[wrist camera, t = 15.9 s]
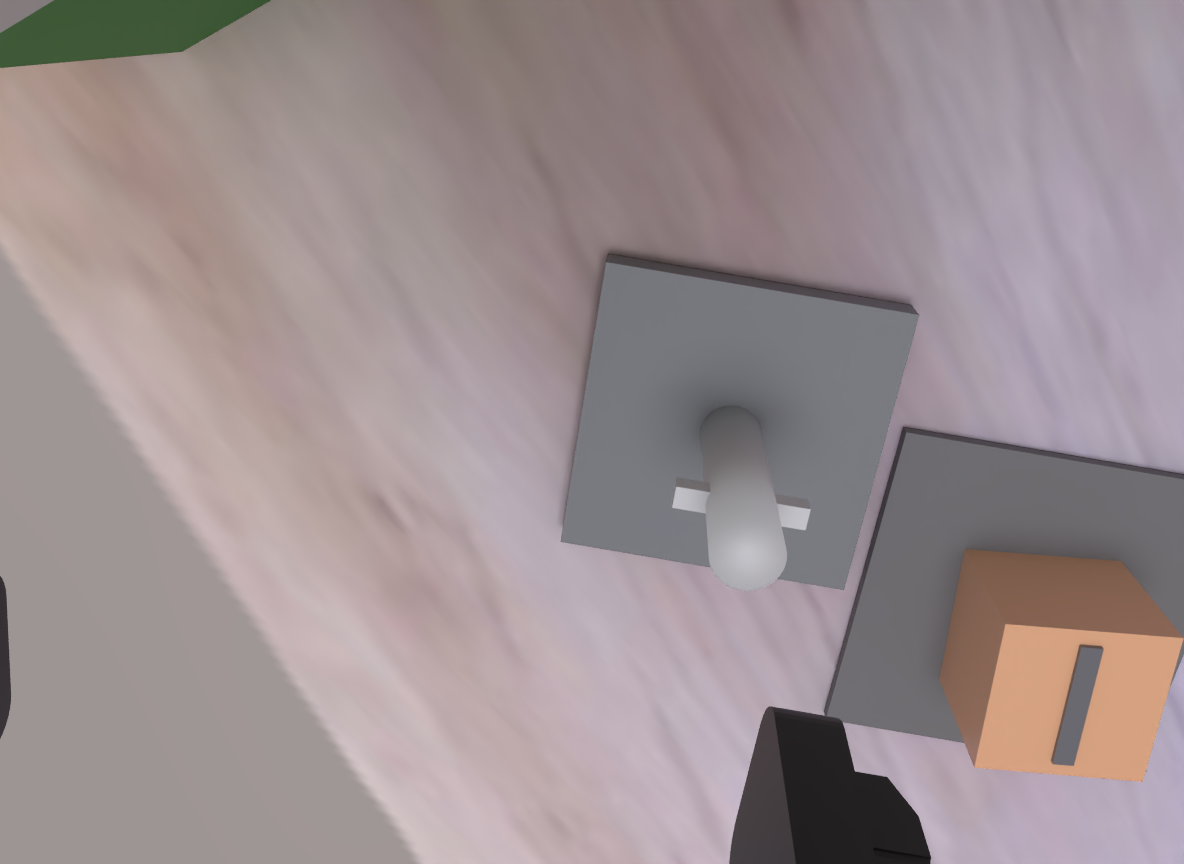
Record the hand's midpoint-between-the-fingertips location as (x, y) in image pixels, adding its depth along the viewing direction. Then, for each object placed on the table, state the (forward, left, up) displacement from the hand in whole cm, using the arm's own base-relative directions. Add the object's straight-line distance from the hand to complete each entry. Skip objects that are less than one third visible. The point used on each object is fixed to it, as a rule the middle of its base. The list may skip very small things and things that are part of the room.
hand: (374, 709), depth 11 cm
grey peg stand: (+8, +7, -33) cm, 35 cm away
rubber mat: (+14, +21, -33) cm, 42 cm away
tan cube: (+15, +21, -32) cm, 41 cm away
